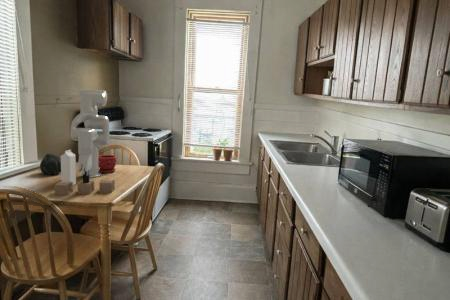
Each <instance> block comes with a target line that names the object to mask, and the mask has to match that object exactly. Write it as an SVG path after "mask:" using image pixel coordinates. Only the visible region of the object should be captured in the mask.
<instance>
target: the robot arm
mask: <svg viewBox="0 0 450 300" xmlns="http://www.w3.org/2000/svg"><path fill="white" fill-rule="evenodd" d="M78 98H79V100H80V109H79V110H80V112H79V114H77V115H76V116H75V117H74V118H73V119H72V122H71V124H70V138H71V140H73V141H77V142H78V143H77V145H78V146H77V149H78V150H77V151H78V161H77V162H78V165H77V166H78V167H77V171H78V172H81V177H82V180H83V182H84V183H88V182H89V181H90V178H97V177H100V176H101V175H102V172H100V171H99V169H100V168H99V156H100V154H99V149H98V147H96V146H97V145H98V146H106V145H109V142H110V120H109V117H108V116H106V115H99V114H98V111H99V109H98V107H105V106H107V100H108V93H107V91H106V90H104V89H88V88H87V89H86V88H83V89H80V90H79V91H78ZM82 123H83V124H84V127H78V125H79V124H82Z"/></svg>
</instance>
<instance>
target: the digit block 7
mask: <svg viewBox="0 0 450 300" xmlns="http://www.w3.org/2000/svg"><path fill="white" fill-rule="evenodd" d="M98 183H99V184H98V185H99V188H98V190H99V193H113V192H114V190H115V187H116V186H115V185H116V183H115V179H102V180H100V182H98Z"/></svg>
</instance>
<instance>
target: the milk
mask: <svg viewBox="0 0 450 300" xmlns="http://www.w3.org/2000/svg"><path fill="white" fill-rule="evenodd" d="M60 159H61V172H60V178H61V182H73V186H74V185H76V184H77V171H76V168H77V167H76V165H77V163H76V154H75V153H74V152H72V149H67V150H65V151H64V153H63V154H61V155H60Z"/></svg>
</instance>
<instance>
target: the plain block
mask: <svg viewBox="0 0 450 300" xmlns="http://www.w3.org/2000/svg"><path fill="white" fill-rule="evenodd" d="M94 191H95V180H89V182H88V183H84V182H83V179H82V180H80V182H78V183H77V194H79V195H81V194H82V195H86V194H88V195H91V194H92V193H93V192H94Z"/></svg>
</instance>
